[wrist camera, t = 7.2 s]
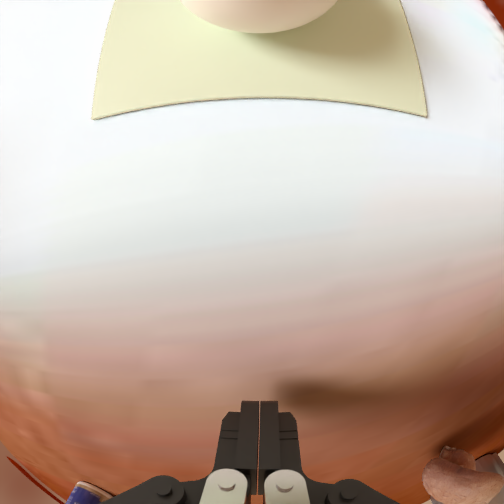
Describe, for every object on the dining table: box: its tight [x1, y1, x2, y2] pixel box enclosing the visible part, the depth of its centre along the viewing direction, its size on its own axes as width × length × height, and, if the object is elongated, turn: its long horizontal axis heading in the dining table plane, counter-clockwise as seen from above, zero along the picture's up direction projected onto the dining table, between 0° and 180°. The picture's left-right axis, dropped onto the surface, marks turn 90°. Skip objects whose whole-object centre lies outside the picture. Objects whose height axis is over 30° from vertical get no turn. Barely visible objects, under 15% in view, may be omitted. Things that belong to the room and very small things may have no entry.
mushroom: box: [422, 446, 504, 504], centre depth 9 cm, size 8×6×8 cm
